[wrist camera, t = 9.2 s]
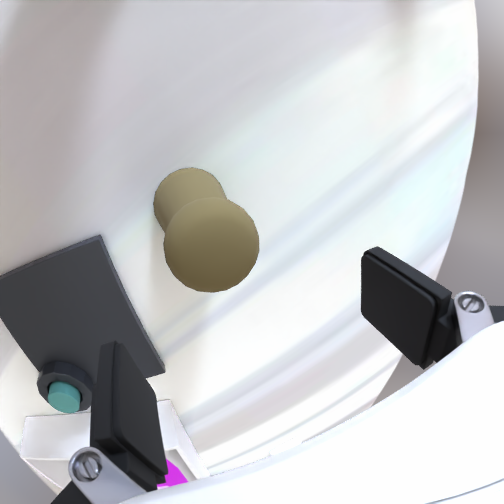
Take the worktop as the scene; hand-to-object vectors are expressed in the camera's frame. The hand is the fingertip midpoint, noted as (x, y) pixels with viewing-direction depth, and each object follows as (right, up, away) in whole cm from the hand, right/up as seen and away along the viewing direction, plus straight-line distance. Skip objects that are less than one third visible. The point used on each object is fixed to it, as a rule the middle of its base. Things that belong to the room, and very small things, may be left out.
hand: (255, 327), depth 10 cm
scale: (-18, -5, +14) cm, 23 cm away
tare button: (-20, -12, +14) cm, 27 cm away
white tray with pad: (-19, -33, +27) cm, 47 cm away
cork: (-5, +7, +14) cm, 16 cm away
